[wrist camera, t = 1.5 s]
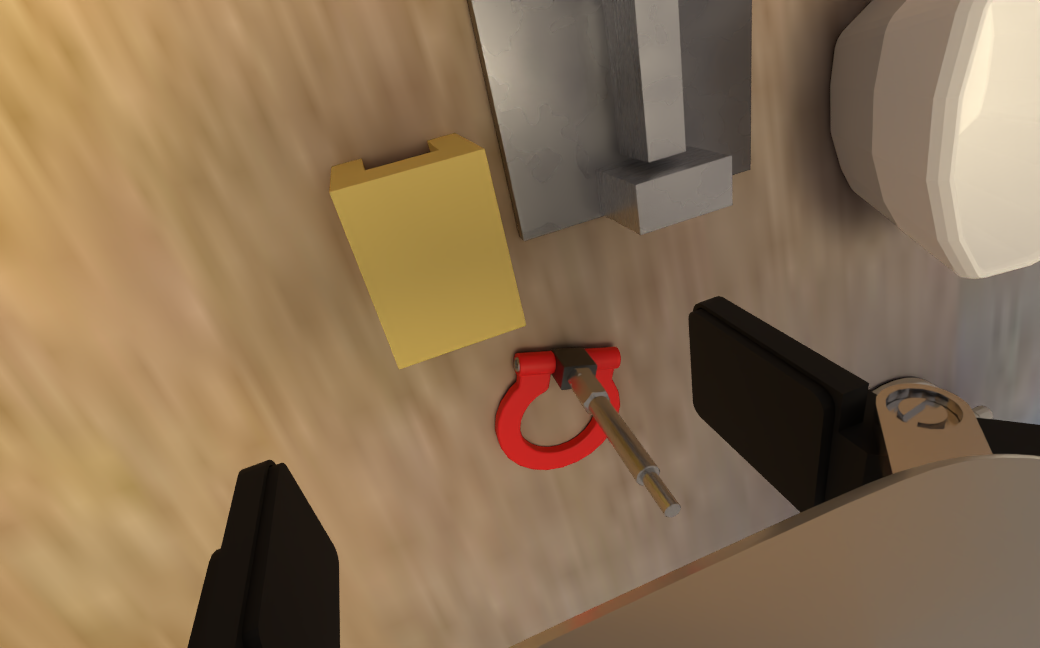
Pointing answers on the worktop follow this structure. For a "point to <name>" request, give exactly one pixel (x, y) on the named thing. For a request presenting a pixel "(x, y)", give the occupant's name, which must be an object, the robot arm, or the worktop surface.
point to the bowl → (945, 125)
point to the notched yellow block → (430, 248)
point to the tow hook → (599, 397)
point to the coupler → (617, 107)
